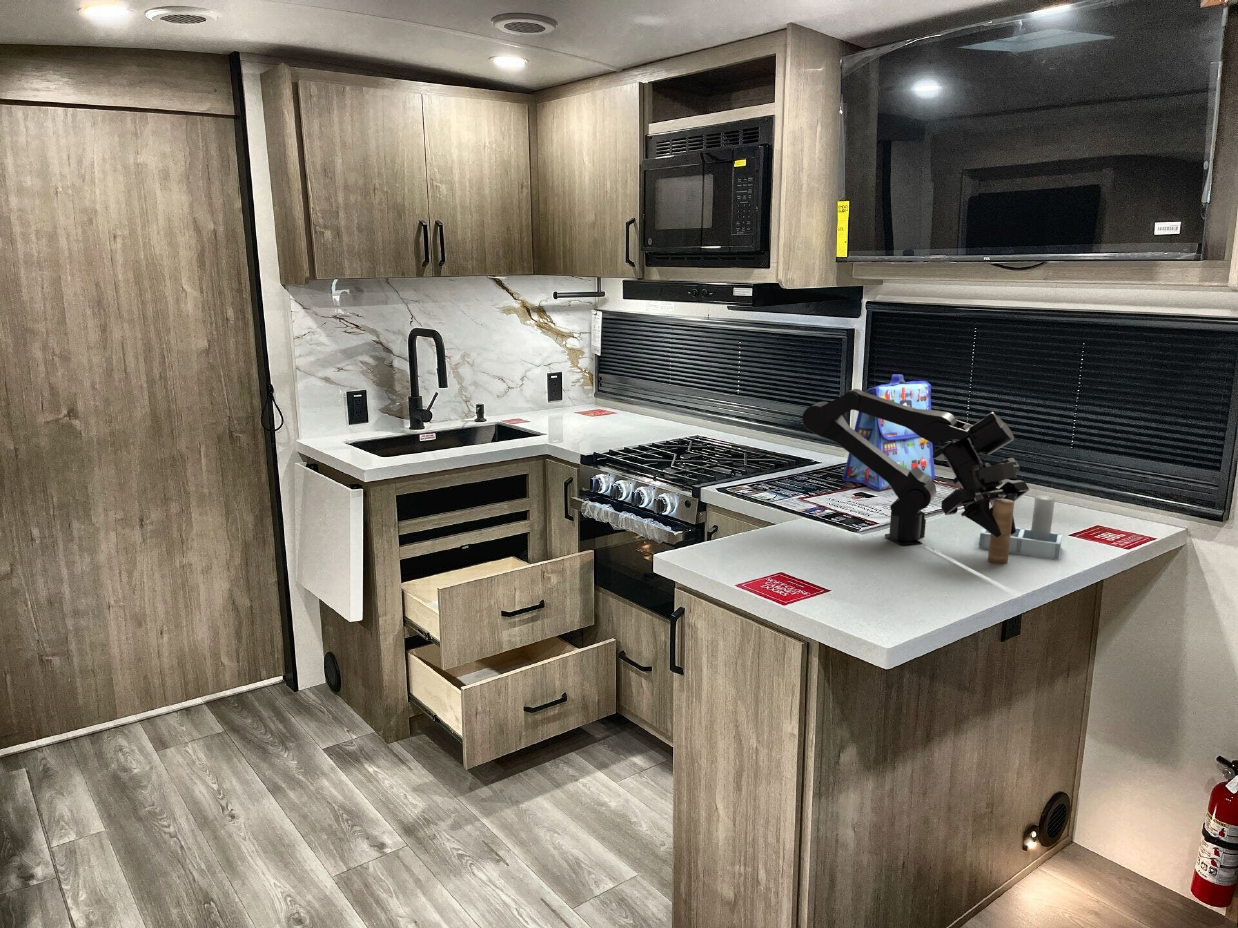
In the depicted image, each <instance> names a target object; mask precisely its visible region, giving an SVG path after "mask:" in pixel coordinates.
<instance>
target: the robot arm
mask: <svg viewBox="0 0 1238 928" xmlns="http://www.w3.org/2000/svg"><path fill="white" fill-rule="evenodd" d="M865 392H866V391H865ZM865 392H864V391H863V390H861V389H858V388H853V389H851V390H848V391H847V392H845V393H844V394H843V395H840V396H839V397H837V398H835V399H834V400H832V401H819V402H817V403H815V404H812V405H811V406H809V407H807V408H806V409H805V410H804V411H803V413H802V425H803V426H804V428H805V429H806V430H807V431H809V432H811V433H813V434H815V435H817V436H818V437H821V438H824V439H827V440H829V441H832V442H834V443H836V444H837V445H838V446H840V447H841V448H842V449H844V450H845V451H846V452H847V453H848V454H849V453H850V454H852V455H853V456H854V457H855V458H857V459H858V460H859V461H861V462H862V463H863V464H864V465H866V466H867V467H868V468H870V469H871V470H872V471H873V472H875V473H876V474H877V475H879V476H880V477H881V478H883V479H884V480H885V481H886V482H888V484H889V485H890V486H891V488H890V489H891V490H892V491H893V493H894V495H895V496H896V497H897V498H896V499H895V501H893V503H892V504H890V506H889V507H890V523H889V531H888V532H889V533H885V534H884V537H885V538H887V539H889V540H890V541H893V542H894V543H897V544H898V545H900V546H908V545H919V544H923V542H922V541H920V539H923V538H925V536H926V526H927V525H926V524H927V519H926V518H925V517H926V513H925V512H923V511H922V510H924V509H926V508H927V507H928V506H929V505H930V504H931V502H932V501H934V500H935V498H936V496H937V485H936V483H935V482H934V480H930V479H931V478H932V476H929V475H926V474H925V473H924V472H922V471H921V469H920V468H918V467H917V466H915V467H914V468H913V469H912V470H909V469H906V468H904V467H902V466H900V465H899V464H898V463H896V462H895V461H894V460H892V459H891V458H890V457H888V456H887V455H886V454H885V453H883V452H882V451H881V450H879V449H878V448H877V447H875V446H874V445H873V444H871V443H870V442H869V441H868V440H866V439H865V438H864V437H862V436H861V435H860V434H858V433H857V432H856V431H854V429H853V428H852V427H851V426H850V425H849V424H848V422H847V421H846V419H845V417H844V416H843V415H844V414H847V413H848V412H851V411H852V410H853V411H857V412H862V413H865V414H868V415H871V416H874V417H877V418H880V419H883V420H886V421H889V422H892V423H895V424H898V425H901V426H904V427H906V428H908V429H910V430H911V431H913V432H914V433H915V434H917V435H918V436H920V437H922V438H924V439H926V440H928V441H929V442H931V443H932V444H934V445H936V446H935V450H934V451H933V456H932V457H933V459H935V460H937V461H940V462H941V461H943V460H946V463H947V464H948V466H949V467H950V469H951V472H952V473H953V475H954V476H955V477H954V478H953V479H952V482H953V484H954V485H958V484H959V485H960V487H961V488H958V489H954V490H953V491H952V492H951V493H950V494H948V495H947V496H946V497H945V498H943V500H942V501H941V509H942V512H943V513H944V516H951V515H955V514H957V513H958V511H959V508H958V507H961V506H963V510H964V511H962V512H961V513H960V515H961V516H962V517H966V518H967V519H969V520H970V521H972V522H974V523H976V524H977V525H979V526H980V527H982V529H983V528H984V529H986V530H987V531H989V532H990V533H991V534H993V535H994V536H996V537H999V536H1001V531H1000V529H999V527H998V525H997V523H996V521H995V519H994V517H993V507H994V500H995V499H1009V500H1012V501H1014V503H1015V502H1016V501H1017V500H1019V499H1020V498H1021V497H1023V496H1024V495H1025V494H1026V493H1028V492H1030V487H1029V486H1028V485H1027V483H1026V481H1025V480H1021V479H1016V478H1017V477H1018V476H1017V474H1020V468H1021V466H1020V465H1019V463H1018V462H1017V460H1016V459H1015V458H1014V457H1011V458H1006V459H1002V460H1001V462H1000V463H995V464H993V465H991V464H990V462H982V460H981V459H980V456H979V455H978V453H979V454H986V455H991V454H992V453H994V452H996V451H997V450H999V449H1001V448H1002V447H1004V446H1006V445H1008V444H1009V443H1011V442H1013V441H1014V440H1015V436H1014V433H1013V432H1012V430H1011V429H1010V427H1009V426H1008V424H1007V423H1006V422H1004V421H1003V420H1002V419H1001V418H1000V417H999V416H997V414H995V412H994V411H991V412H990V413H988V414H987V415H986V416H984V418H982V419H980V420H979V421H978V422H976V423H973V424H970V423H967V422H964V421H961V420H958V419H956V417H955V416H954V414H952V413H950V412H947V411H942V410H936V409H935V410H934V409H931V410H925V409H915V408H911V407H908V406H905V405H902V404H899V403H896V402H893V401H890V400H887V399H884V398H881V397H877V396H874V395H871V394H868V393H865ZM949 440H950V442H948V441H949ZM947 442H948V443H947ZM944 443H946V444H945V445H943V446H940V445H942V444H944ZM938 445H939V446H938ZM976 451H977V452H978V453H977V452H976ZM1008 479H1012V480H1009V481H1007V482H1005V483H1004V482H1003V481H1005V480H1008ZM1013 479H1016V480H1013ZM1000 486H1001V487H1000ZM998 487H999V488H998ZM997 488H998V489H997ZM990 505H991V507H990ZM1014 518H1015V517H1014V516H1013V519H1012V528H1011V534H1014V533H1015V532H1016V528H1015V527H1016V525H1015V524H1016V523H1015V519H1014Z"/></svg>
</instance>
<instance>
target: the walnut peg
mask: <svg viewBox="0 0 1238 928" xmlns="http://www.w3.org/2000/svg"><path fill="white" fill-rule="evenodd" d="M1014 508H1015V502H1014V501H1012V500H1009V499H995V500H994V507H993V517H994V519H995V521H996V523H997V525H998V527H999V529H1000V531H1001V536H999V537H996V536H994V535H993V534H991V535H990V544H989V549H988V555H987V561H988V562H989V563H992V564H996V565H1007V564H1008V561H1009V545H1010V536H1011V528H1012V519H1013V517H1014V510H1015V509H1014Z"/></svg>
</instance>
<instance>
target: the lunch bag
mask: <svg viewBox="0 0 1238 928" xmlns="http://www.w3.org/2000/svg"><path fill="white" fill-rule="evenodd" d="M865 393H868V394H871V395H874V396H877V397H881V398H884V399H887V400H890V401H893V402H896V403H899V404H902V405H905V406H908V407H911V408H915V409H925V410H932V403H931V402H932V400H931V399H932V398H931V393H932V385H931V384H930V382H928V381H926V380H918V381H917V380H912V381H911V380H910V381H907V382H906V381H905V379H904V375H903V374H895V373H894V374H892V376H891V380H890V382H889V383H886V384H880V385H876V386H875V387H874V386H873V387H869V388H868V389H866V391H865ZM857 412H858V413H857V418H856V421H855V425H854V429H853V430H854V431H856V432H857V433H858V434H860V435H861V436H862V437H864V438H865V439H866V440H868V441H869V442H870V443H871V444H873V445H874V446H875V447H877V448H878V449H879V450H881V451H882V452H883V453H885V454H886V455H887V456H888V457H890V458H891V459H892V460H894V461H895V462H896V463H898V464H899V465H900V466H902V467H904V468H906V469H909V470H912V469H913V468H914V467H915V466H917V467H918V468H920V469H921V471H922V472H924V473H925V474H926V475H929V476H932V478H931V479H930V480H932V481H934V480H935V478H936V473H935V462H934V458H933V457H932V456H933V454H934V449H933V448H934V447H933V443H931V442H929V441H928V440H926V439H924V438H922V437H920V436H918V435H917V434H915V433H914V432H913V431H911V430H910V429H908V428H906V427H904V426H901V425H898V424H895V423H892V422H889V421H886V420H883V419H880V418H877V417H874V416H871V415H868V414H865V413H862V412H859V411H857ZM842 480H843V481H844V482H853V483H857V484H858V483H859V484H864V485H866V486H868V487H870V488H871V489H873V490H874V491H881V490H887V489H892V488H891V486H890V485H889V484H888V482H886V481H885V480H884V479H883V478H881V477H880V476H879V475H877V474H876V473H875V472H873V471H872V470H871V469H870V468H868V467H867V466H866V465H864V464H863V463H862V462H861V461H859V460H858V459H857V458H855V457H854V456H853V455H852V454H850V453H849V452H848V455H847V460H846V464H845V468H844V472H843V475H842Z"/></svg>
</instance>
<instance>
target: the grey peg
mask: <svg viewBox="0 0 1238 928" xmlns="http://www.w3.org/2000/svg"><path fill="white" fill-rule="evenodd" d="M1055 501H1056V499H1055V498H1054V497H1053V496H1049V495H1036V496H1034V502H1033V503H1034V504H1033V513H1032V518H1031V519H1032V520H1031V536H1030V539H1034V540H1041V541H1048V542H1050V534H1051V532H1052V525H1053V518H1054V517H1053V516H1054V509H1055Z"/></svg>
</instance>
